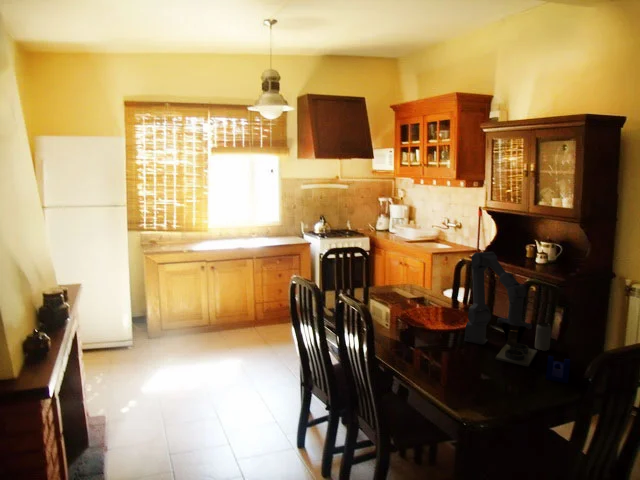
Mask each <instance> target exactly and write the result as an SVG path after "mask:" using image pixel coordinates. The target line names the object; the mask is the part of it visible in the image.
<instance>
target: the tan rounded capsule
mask: <svg viewBox="0 0 640 480" xmlns="http://www.w3.org/2000/svg"><path fill="white" fill-rule="evenodd" d="M517 341H518V330H515V329H509V330H508V340H507V341H506V344H508V345H510V346H518V343H517Z"/></svg>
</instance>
